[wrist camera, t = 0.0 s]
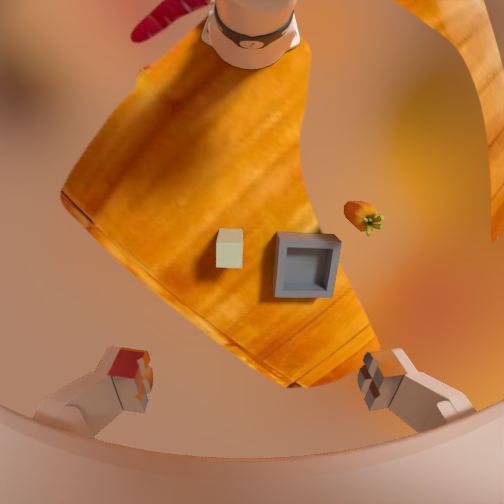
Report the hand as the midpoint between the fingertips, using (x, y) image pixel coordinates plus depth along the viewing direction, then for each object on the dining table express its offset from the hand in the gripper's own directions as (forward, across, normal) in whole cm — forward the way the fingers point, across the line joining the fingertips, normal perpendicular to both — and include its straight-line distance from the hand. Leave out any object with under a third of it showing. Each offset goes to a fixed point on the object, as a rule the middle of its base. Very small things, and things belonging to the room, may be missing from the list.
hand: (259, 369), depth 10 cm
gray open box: (+48, -13, +14) cm, 52 cm away
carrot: (+48, -21, +2) cm, 53 cm away
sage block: (+48, +2, +10) cm, 49 cm away
